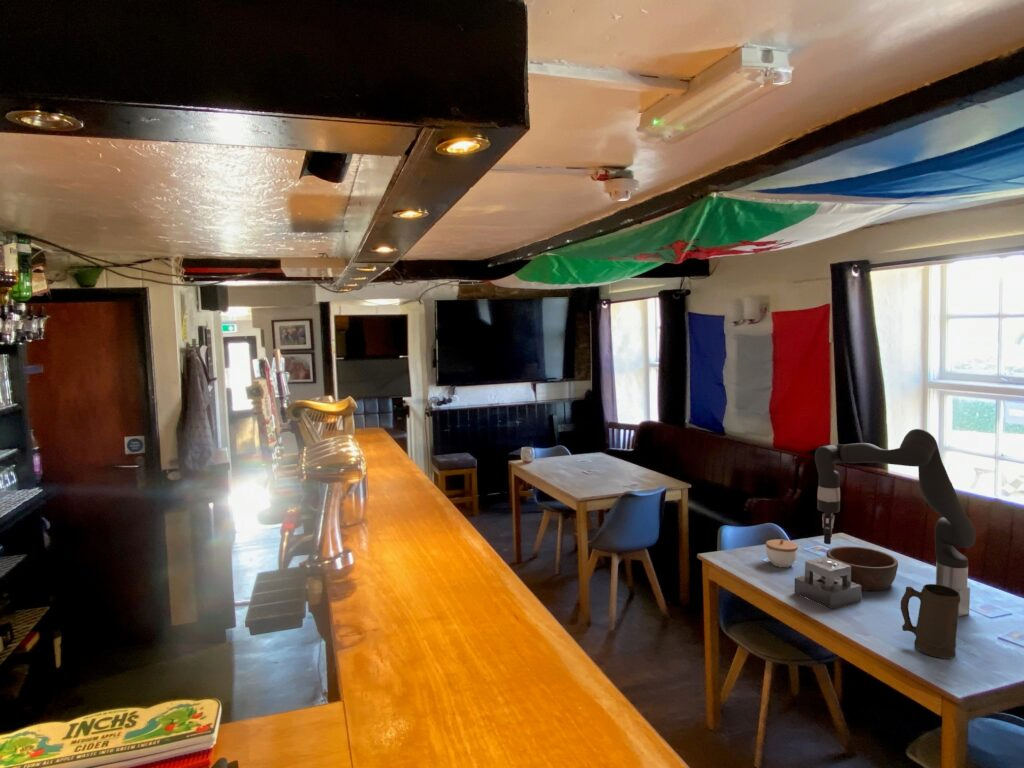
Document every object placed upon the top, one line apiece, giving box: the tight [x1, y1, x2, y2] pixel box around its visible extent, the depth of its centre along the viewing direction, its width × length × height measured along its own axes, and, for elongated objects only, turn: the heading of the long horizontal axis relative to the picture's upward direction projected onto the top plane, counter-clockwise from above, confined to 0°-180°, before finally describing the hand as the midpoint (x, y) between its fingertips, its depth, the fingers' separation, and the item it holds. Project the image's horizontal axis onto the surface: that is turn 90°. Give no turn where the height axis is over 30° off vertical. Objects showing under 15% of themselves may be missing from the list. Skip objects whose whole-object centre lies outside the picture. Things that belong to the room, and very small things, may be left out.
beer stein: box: [900, 583, 961, 659], centre depth 195 cm, size 15×11×20 cm
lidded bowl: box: [765, 538, 799, 568], centre depth 268 cm, size 13×13×11 cm
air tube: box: [821, 559, 834, 584], centre depth 235 cm, size 4×4×14 cm
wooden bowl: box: [826, 545, 899, 592], centre depth 249 cm, size 25×25×10 cm
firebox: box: [794, 556, 862, 610], centre depth 235 cm, size 16×16×13 cm
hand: (827, 540), depth 234 cm, fingers open, 8 cm apart
